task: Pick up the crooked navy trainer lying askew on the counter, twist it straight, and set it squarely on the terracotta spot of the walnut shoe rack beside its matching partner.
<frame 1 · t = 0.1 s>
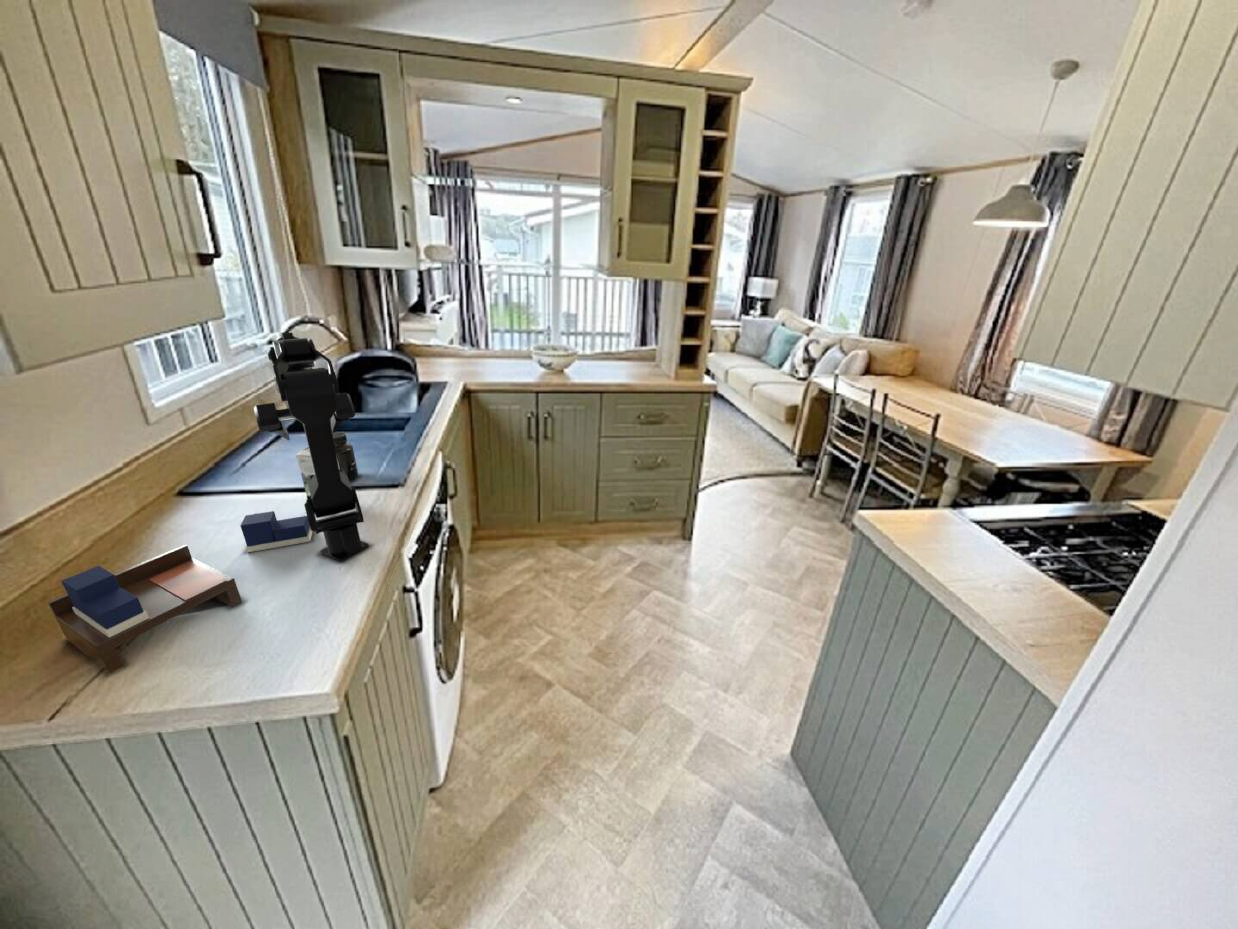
hand: (311, 435, 122), 15 cm above the worktop, tool tilted 30°, fingers open, 9 cm apart
syrup box: (329, 508, 120), on the worktop
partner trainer: (112, 616, 78), point 5 cm above the worktop, touching shoe rack
trainer: (281, 541, 107), on the worktop
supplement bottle: (344, 479, 135), on the worktop
shoe rack: (159, 620, 85), on the worktop
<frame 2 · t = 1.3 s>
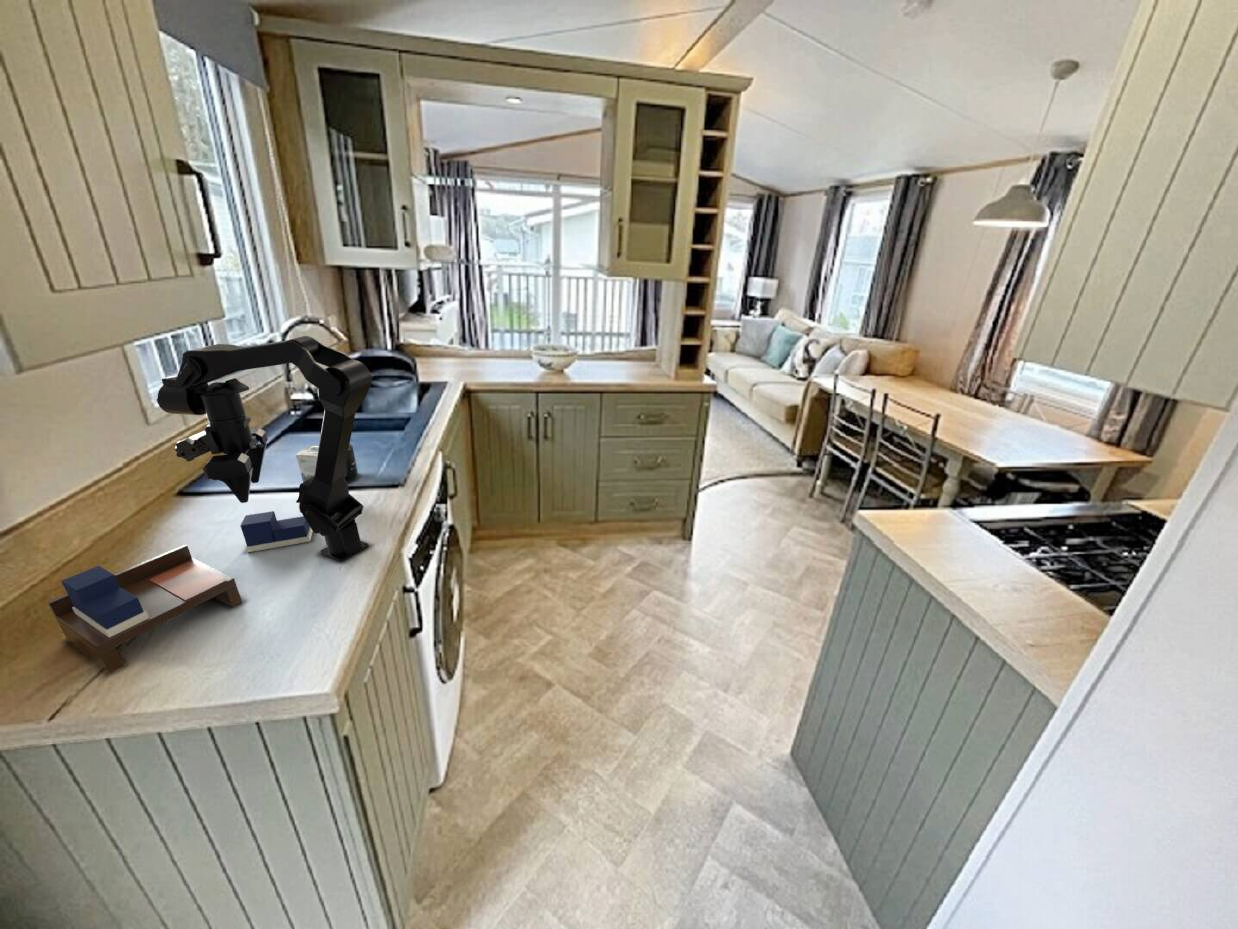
hand: (250, 492, 101), 12 cm above the worktop, tool pointing down, fingers open, 9 cm apart
nothing on the worktop moved.
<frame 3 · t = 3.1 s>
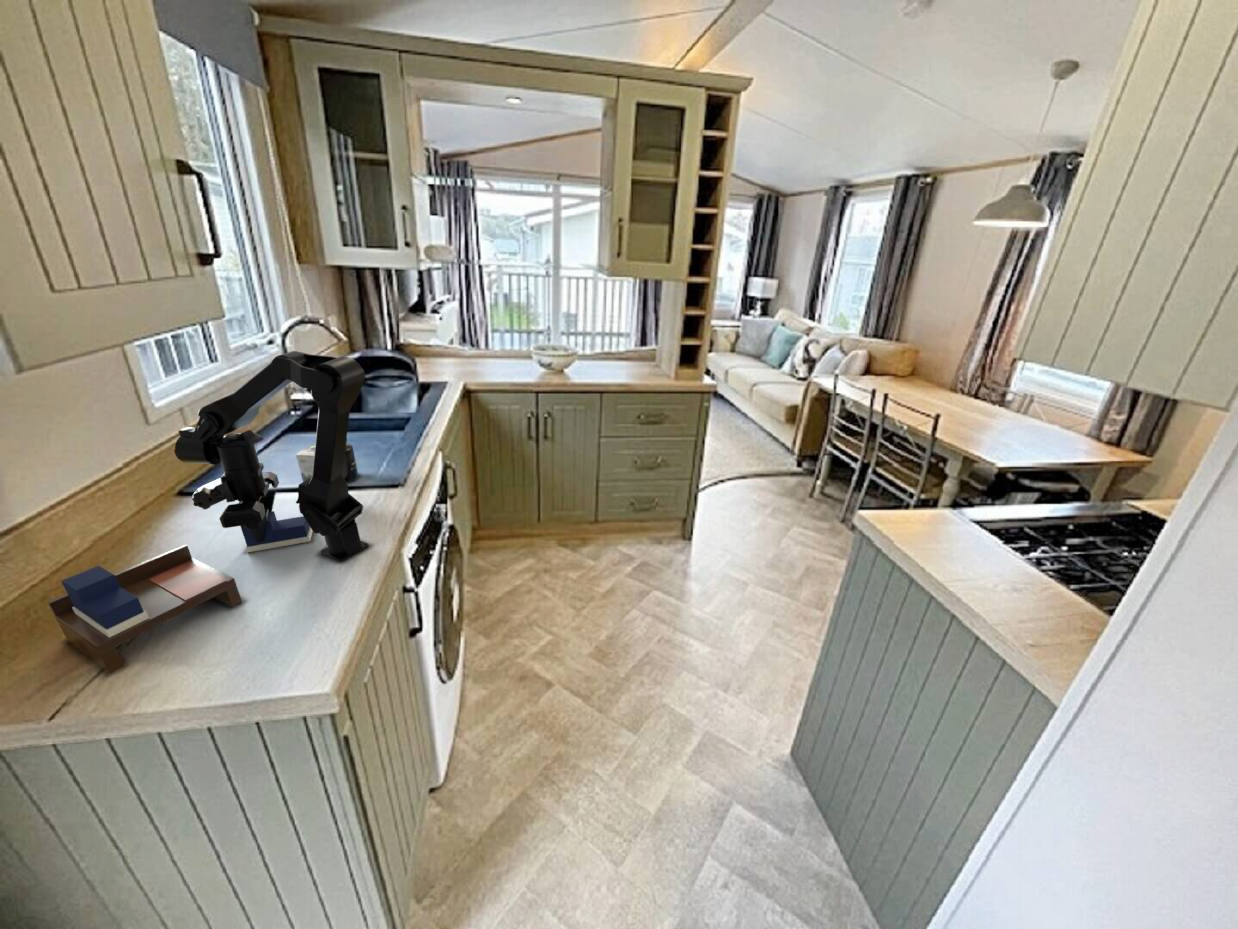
hand: (263, 535, 105), 2 cm above the worktop, tool pointing down, fingers closed on trainer, 4 cm apart
trainer: (281, 541, 107), on the worktop, touching gripper
everything else where it was.
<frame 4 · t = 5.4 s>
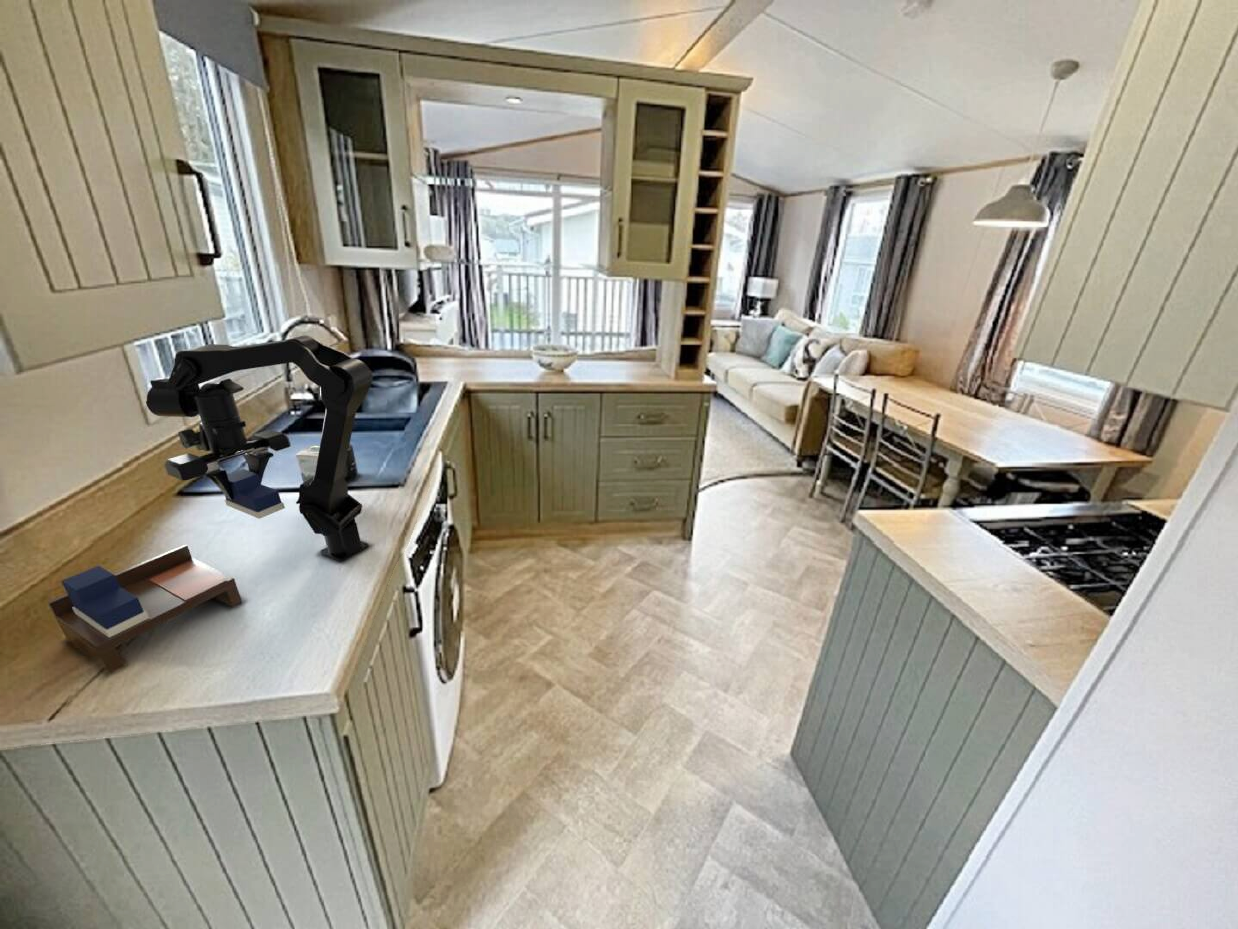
hand: (244, 494, 100), 12 cm above the worktop, tool pointing down, fingers closed on trainer, 4 cm apart
trainer: (255, 506, 100), point 10 cm above the worktop, touching gripper
everything else where it was.
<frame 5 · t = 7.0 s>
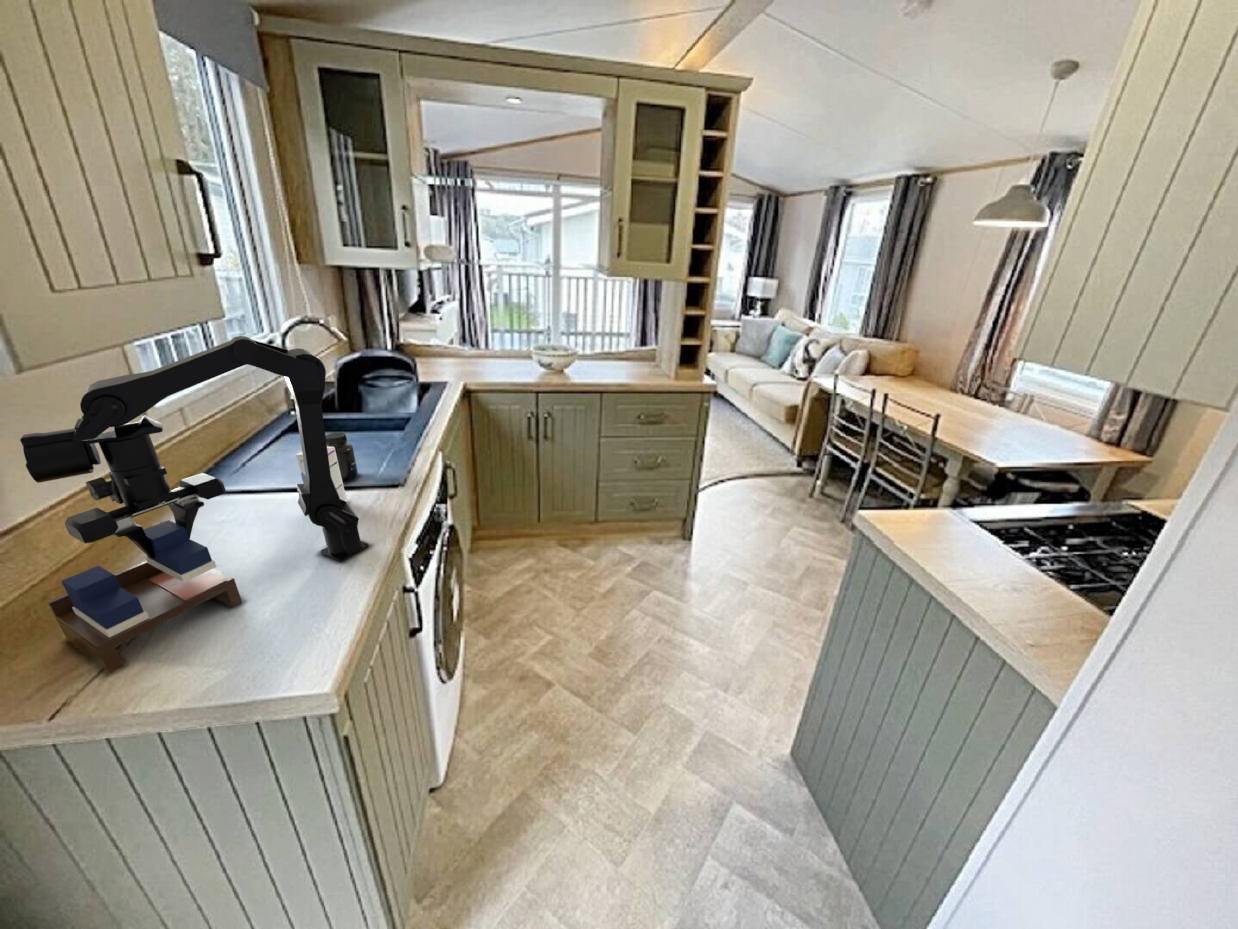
hand: (169, 550, 86), 10 cm above the worktop, tool pointing down, fingers closed on trainer, 4 cm apart
trainer: (182, 565, 85), point 8 cm above the worktop, touching gripper
everything else where it was.
when the fingers open (7 cm above the worktop, at t = 8.1 s): trainer stays where it is, resting on shoe rack.
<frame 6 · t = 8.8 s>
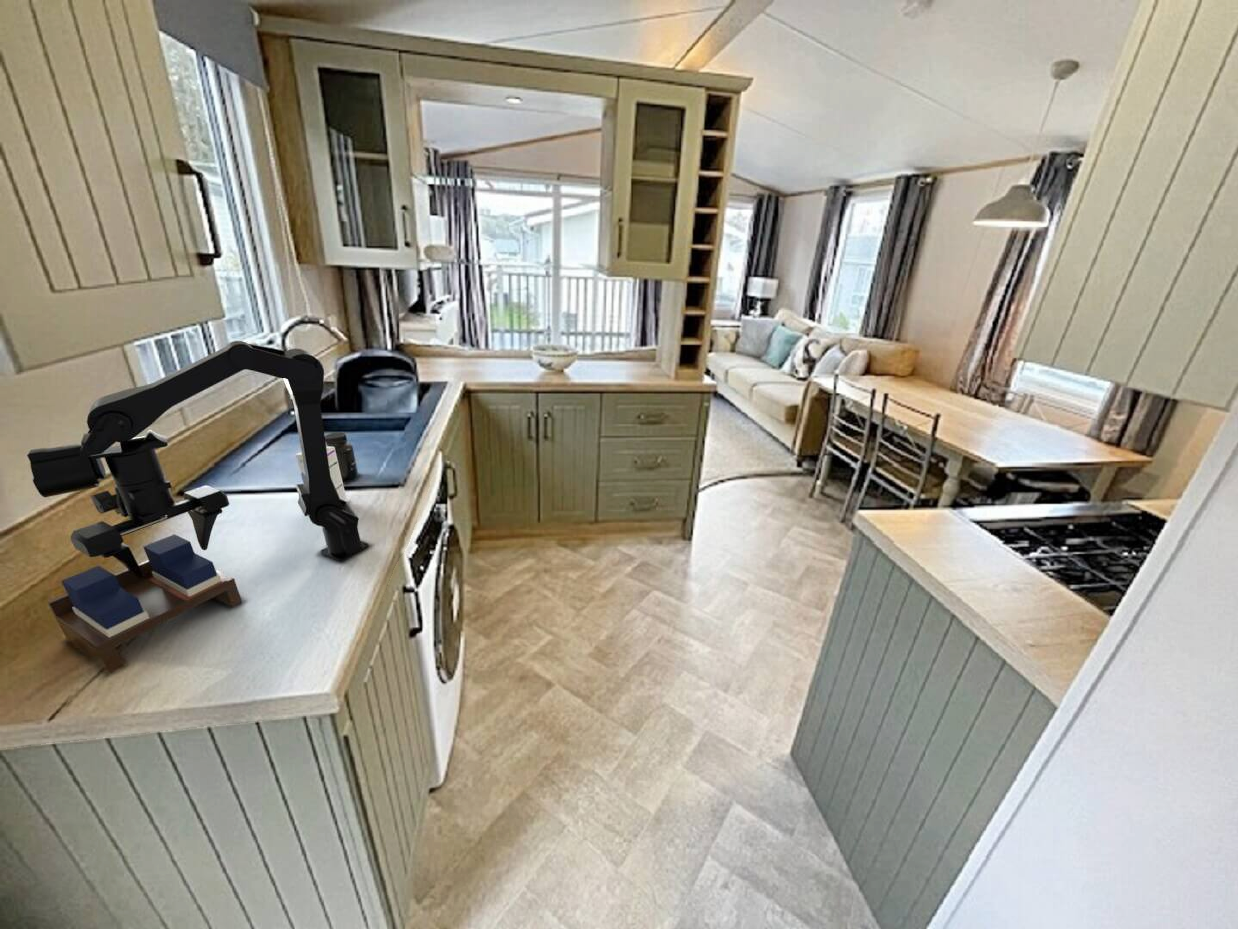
hand: (173, 562, 87), 8 cm above the worktop, tool pointing down, fingers open, 9 cm apart
trainer: (187, 579, 86), point 5 cm above the worktop, touching shoe rack
everything else where it was.
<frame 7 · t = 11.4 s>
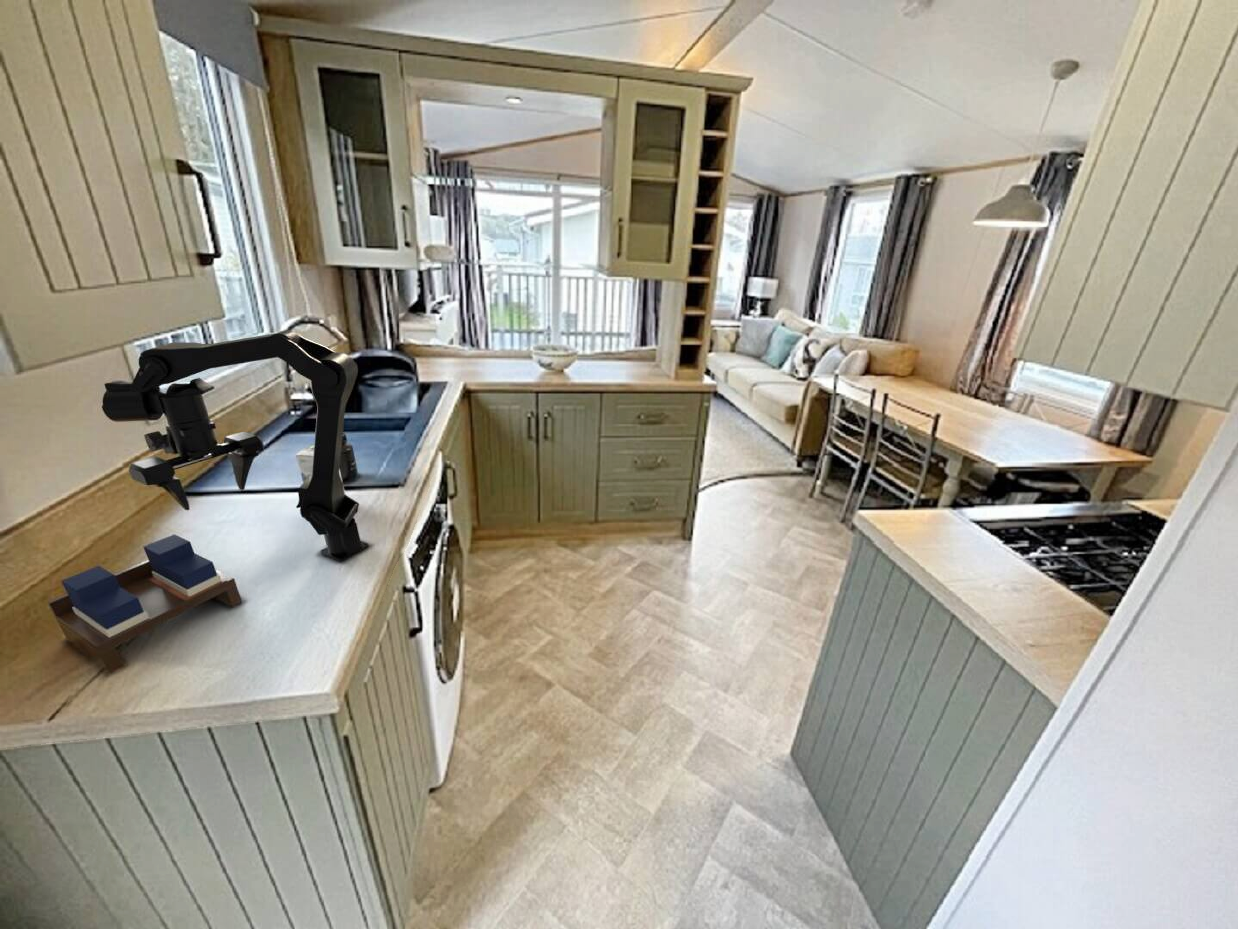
hand: (215, 499, 96), 13 cm above the worktop, tool pointing down, fingers open, 9 cm apart
nothing on the worktop moved.
at the end: trainer 0.1 cm from the target spot on the shoe rack, point 5.2 cm above the shoe rack's base; trainer tilted 0°; the gripper is holding nothing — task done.
